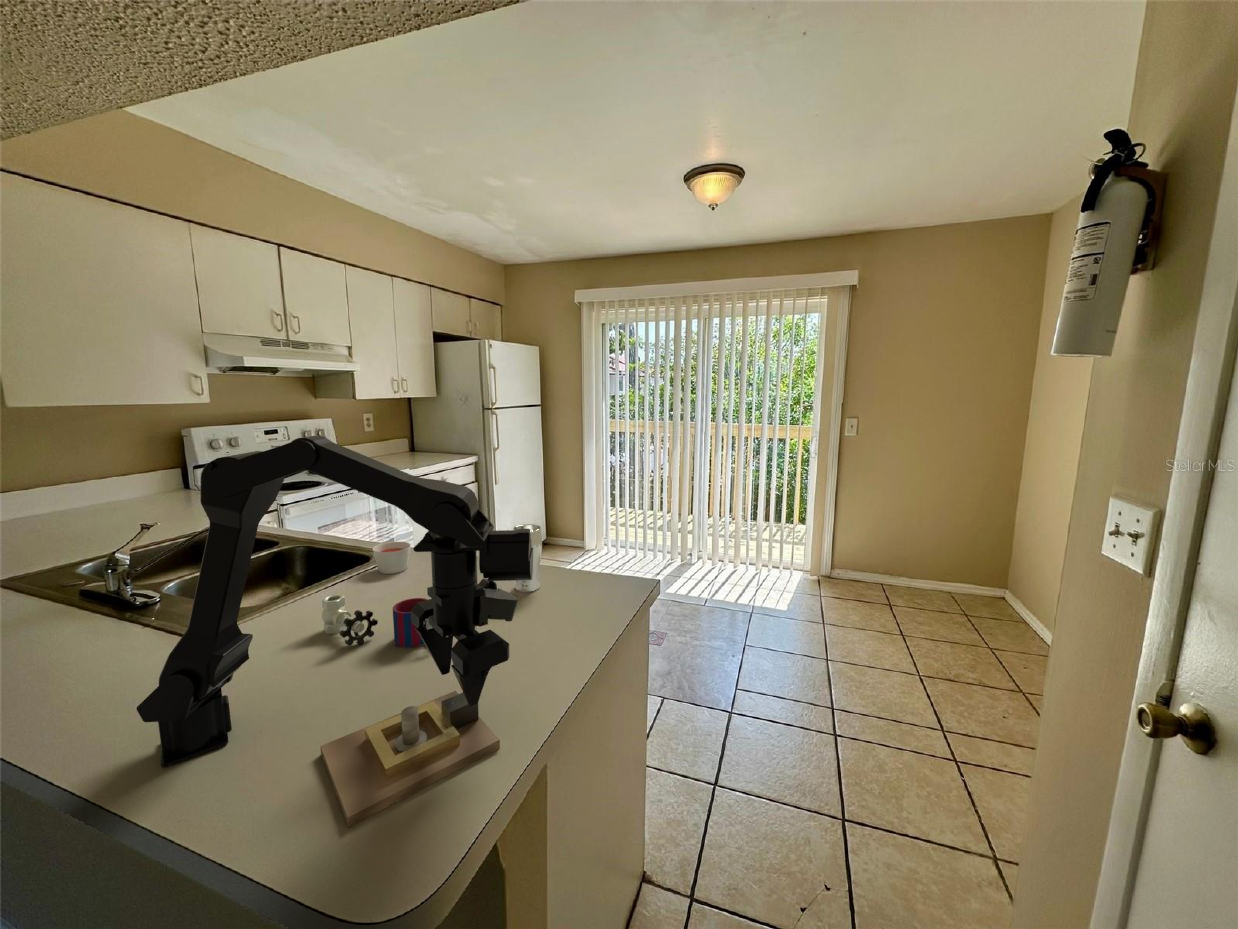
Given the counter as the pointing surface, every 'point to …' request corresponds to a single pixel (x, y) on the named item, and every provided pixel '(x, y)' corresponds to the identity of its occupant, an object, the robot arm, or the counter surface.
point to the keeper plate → (360, 772)
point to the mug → (405, 624)
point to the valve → (345, 620)
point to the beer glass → (537, 550)
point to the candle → (392, 557)
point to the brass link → (444, 724)
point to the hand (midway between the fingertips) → (458, 688)
